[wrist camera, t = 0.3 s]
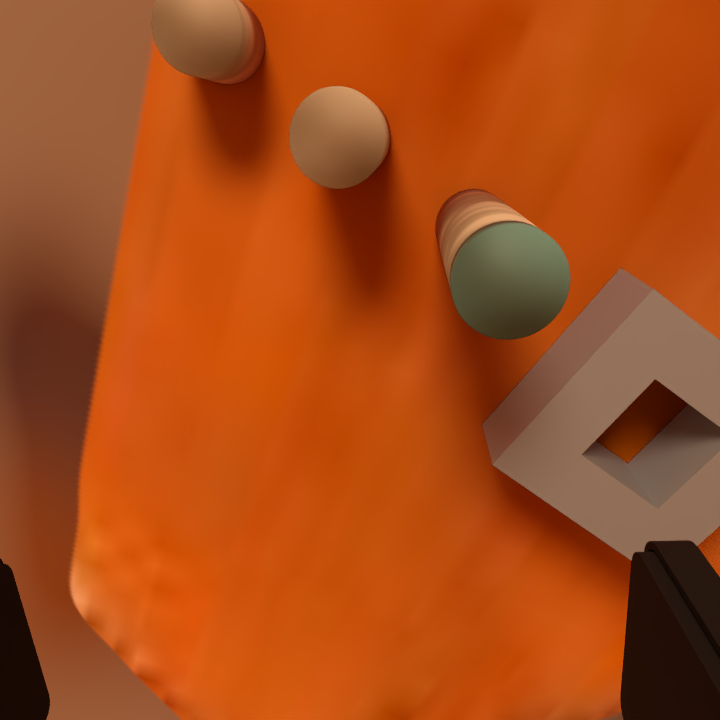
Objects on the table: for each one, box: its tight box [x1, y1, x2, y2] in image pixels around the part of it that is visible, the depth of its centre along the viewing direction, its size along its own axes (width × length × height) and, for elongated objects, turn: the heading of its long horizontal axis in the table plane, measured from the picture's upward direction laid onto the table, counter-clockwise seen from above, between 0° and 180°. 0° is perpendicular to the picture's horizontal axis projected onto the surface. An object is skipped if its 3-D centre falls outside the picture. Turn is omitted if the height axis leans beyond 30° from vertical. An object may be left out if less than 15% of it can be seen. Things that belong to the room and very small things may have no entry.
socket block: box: [482, 268, 720, 561], centre depth 35 cm, size 12×12×5 cm
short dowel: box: [151, 0, 265, 84], centre depth 30 cm, size 4×4×5 cm
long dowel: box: [435, 189, 570, 340], centre depth 28 cm, size 4×4×14 cm
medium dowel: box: [289, 86, 391, 189], centre depth 30 cm, size 4×4×8 cm
